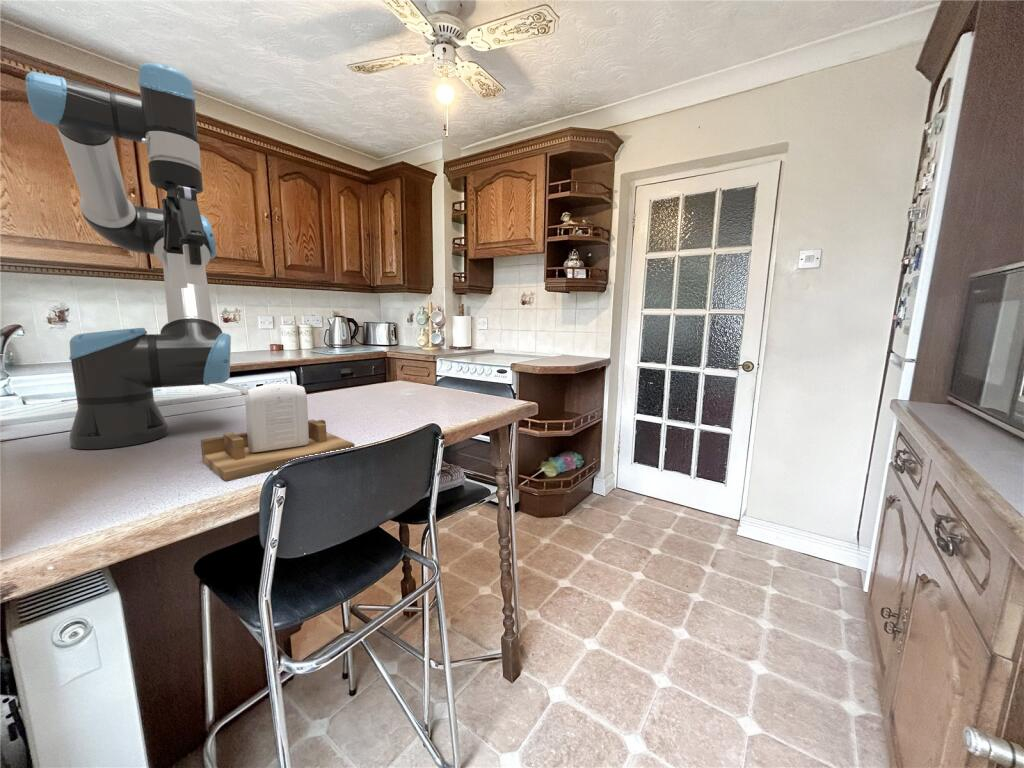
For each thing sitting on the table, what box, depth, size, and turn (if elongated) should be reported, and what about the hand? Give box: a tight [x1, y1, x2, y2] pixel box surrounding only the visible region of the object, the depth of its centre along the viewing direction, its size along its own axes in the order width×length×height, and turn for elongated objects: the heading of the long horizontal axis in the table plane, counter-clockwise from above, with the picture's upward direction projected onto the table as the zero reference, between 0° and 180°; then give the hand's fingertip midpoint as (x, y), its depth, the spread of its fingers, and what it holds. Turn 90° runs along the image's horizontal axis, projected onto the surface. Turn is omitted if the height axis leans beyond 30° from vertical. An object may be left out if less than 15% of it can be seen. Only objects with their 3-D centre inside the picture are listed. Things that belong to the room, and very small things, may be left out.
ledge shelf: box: [200, 419, 355, 482], centre depth 79 cm, size 14×22×5 cm, turn 138°
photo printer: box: [244, 382, 309, 453], centre depth 78 cm, size 10×4×12 cm, turn 128°
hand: (187, 286), depth 78 cm, fingers open, 13 cm apart
